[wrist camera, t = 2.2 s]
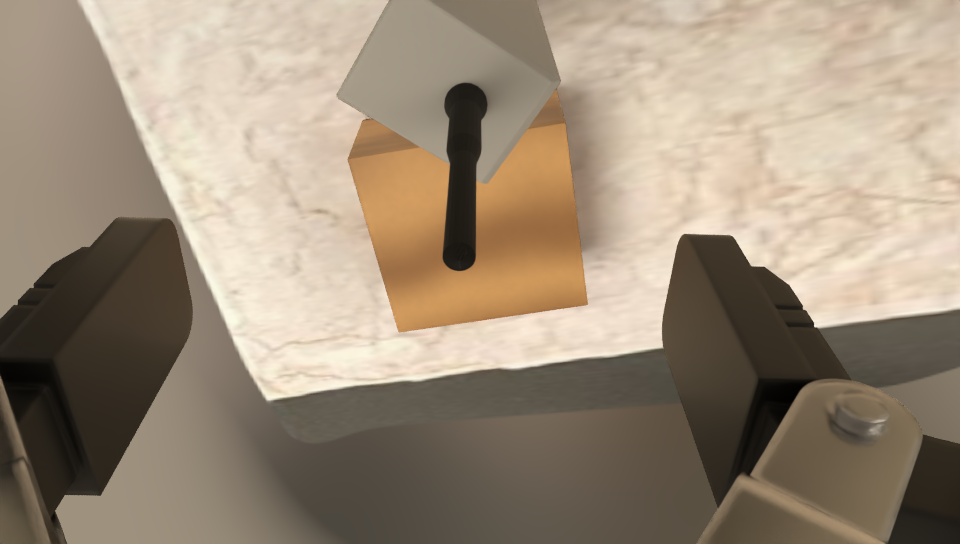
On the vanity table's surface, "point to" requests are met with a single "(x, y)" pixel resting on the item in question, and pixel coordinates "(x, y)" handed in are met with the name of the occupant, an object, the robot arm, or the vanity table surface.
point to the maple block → (499, 227)
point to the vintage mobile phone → (456, 91)
